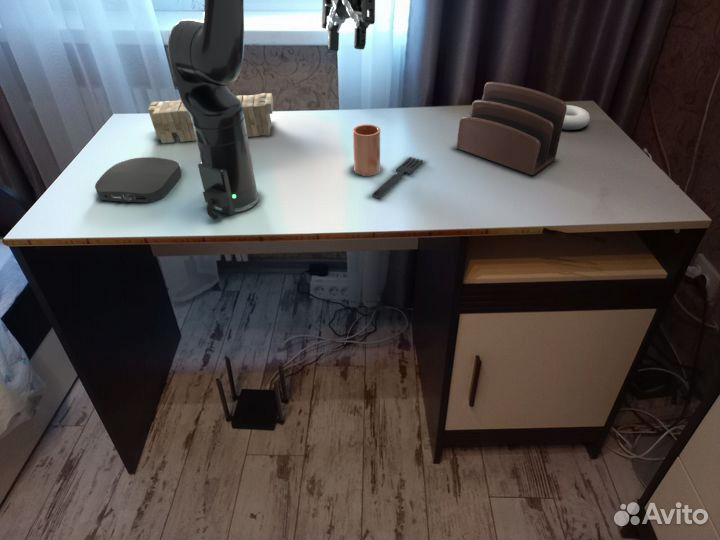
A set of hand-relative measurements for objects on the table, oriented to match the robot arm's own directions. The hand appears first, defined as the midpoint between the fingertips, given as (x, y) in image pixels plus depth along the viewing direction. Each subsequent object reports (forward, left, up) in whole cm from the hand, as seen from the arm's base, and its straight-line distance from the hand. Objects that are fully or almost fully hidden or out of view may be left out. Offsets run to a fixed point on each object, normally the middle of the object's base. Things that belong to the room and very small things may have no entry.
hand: (346, 50), depth 104 cm
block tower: (-8, +34, -22) cm, 42 cm away
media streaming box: (-35, +30, -22) cm, 52 cm away
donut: (+39, -40, -22) cm, 60 cm away
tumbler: (-6, -8, -22) cm, 25 cm away
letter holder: (+15, -32, -22) cm, 42 cm away
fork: (-6, -16, -22) cm, 28 cm away
